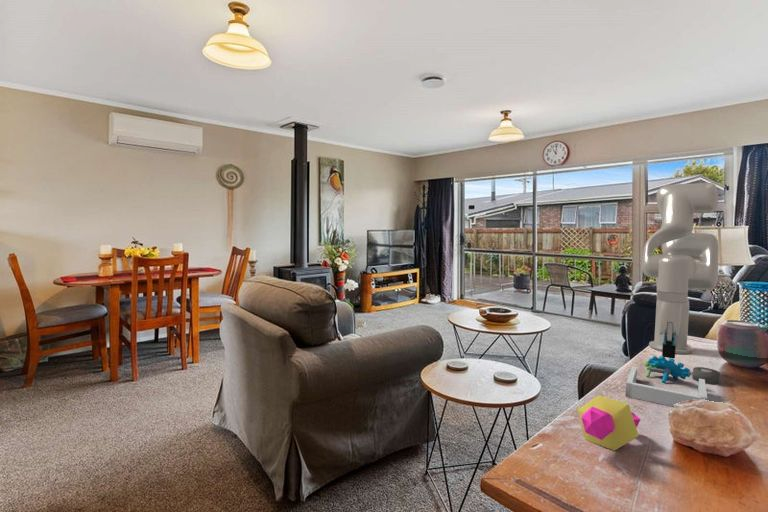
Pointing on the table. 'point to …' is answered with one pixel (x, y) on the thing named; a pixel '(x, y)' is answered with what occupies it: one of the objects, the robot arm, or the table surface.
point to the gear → (666, 368)
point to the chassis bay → (660, 391)
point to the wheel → (706, 375)
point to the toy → (608, 422)
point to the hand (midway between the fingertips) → (668, 356)
